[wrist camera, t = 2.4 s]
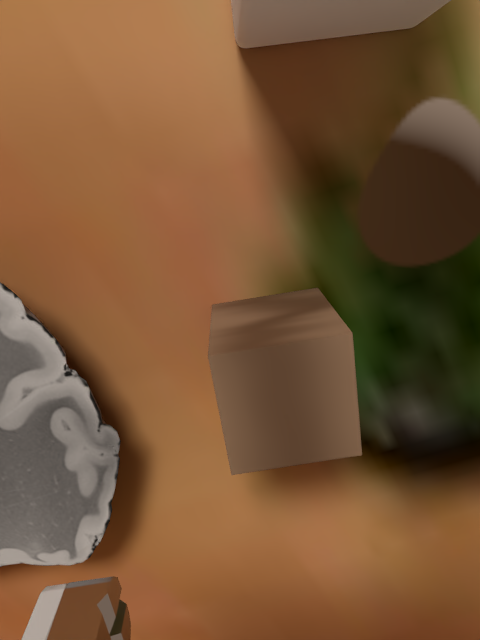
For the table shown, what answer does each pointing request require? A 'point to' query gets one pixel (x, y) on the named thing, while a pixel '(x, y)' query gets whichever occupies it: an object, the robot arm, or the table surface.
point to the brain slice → (49, 448)
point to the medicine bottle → (323, 19)
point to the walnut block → (284, 381)
